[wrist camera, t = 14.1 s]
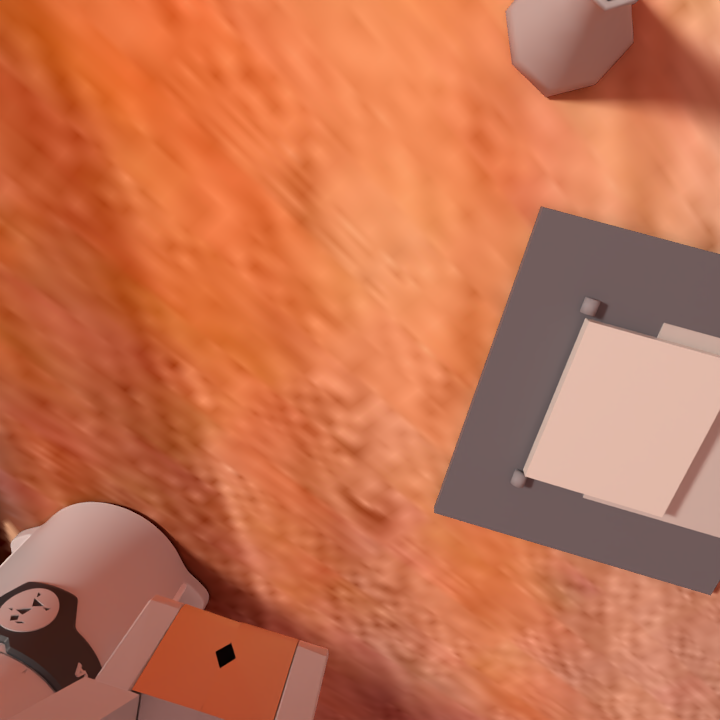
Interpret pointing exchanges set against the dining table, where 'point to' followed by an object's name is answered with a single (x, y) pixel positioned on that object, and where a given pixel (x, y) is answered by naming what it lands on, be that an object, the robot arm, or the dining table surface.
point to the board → (541, 377)
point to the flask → (568, 40)
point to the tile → (626, 417)
